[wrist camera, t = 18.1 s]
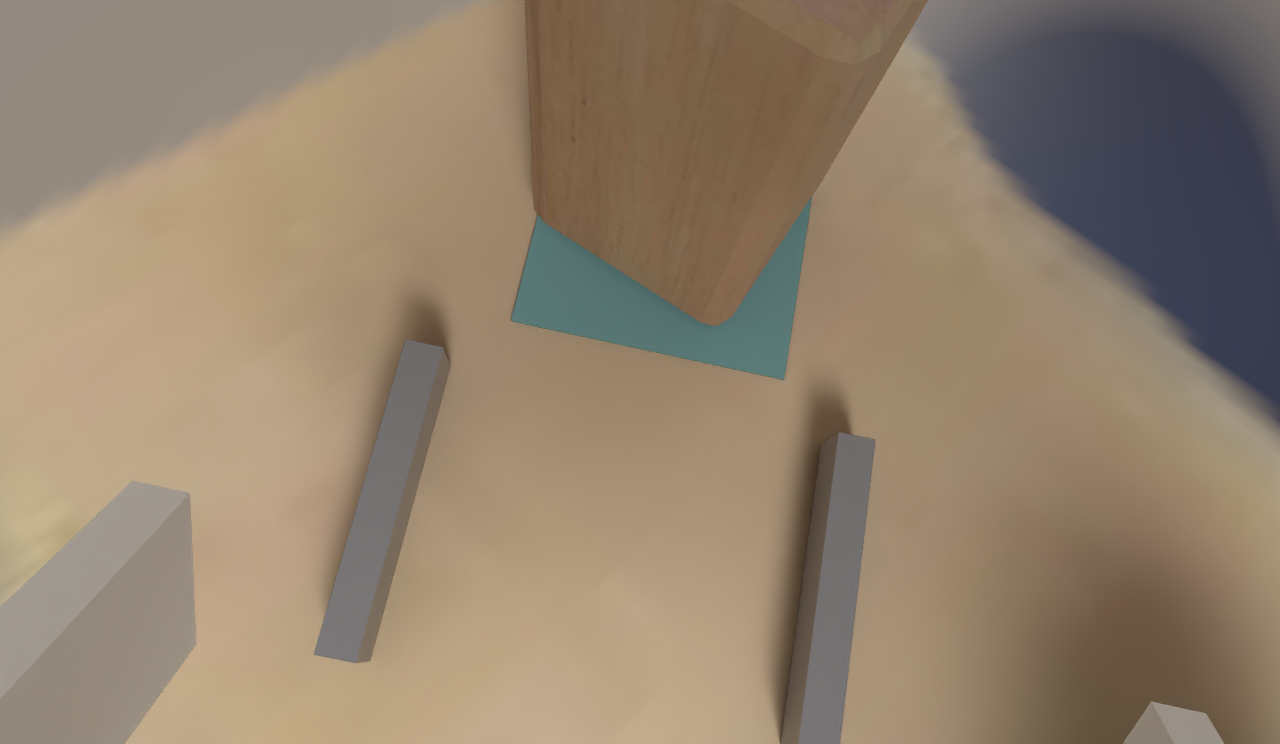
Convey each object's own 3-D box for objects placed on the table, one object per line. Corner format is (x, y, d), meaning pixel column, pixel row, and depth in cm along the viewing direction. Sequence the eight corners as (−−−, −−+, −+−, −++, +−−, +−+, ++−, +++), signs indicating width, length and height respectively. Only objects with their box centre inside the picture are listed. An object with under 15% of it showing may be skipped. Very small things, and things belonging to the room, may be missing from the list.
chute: (818, 751, 34) (837, 760, 32) (330, 653, 34) (313, 654, 31) (855, 452, 38) (875, 439, 35) (415, 358, 37) (405, 339, 35)
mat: (783, 379, 38) (784, 379, 38) (511, 321, 38) (511, 320, 38) (819, 141, 42) (820, 140, 42) (571, 86, 42) (571, 84, 41)
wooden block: (646, 64, 42) (724, -409, 23) (826, 174, 41) (1060, -221, 22) (525, 220, 39) (498, -173, 20) (715, 342, 38) (875, 52, 19)
